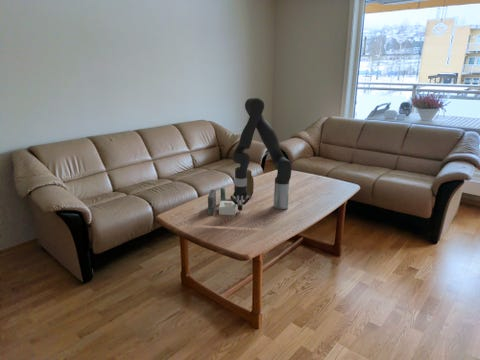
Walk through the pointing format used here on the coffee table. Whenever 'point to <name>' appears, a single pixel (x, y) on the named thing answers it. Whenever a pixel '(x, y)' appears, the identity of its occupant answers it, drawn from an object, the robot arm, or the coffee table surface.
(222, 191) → the dowel
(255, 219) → the coffee table surface
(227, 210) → the socket
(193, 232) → the coffee table surface
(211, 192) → the jig
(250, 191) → the brown rounded block
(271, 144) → the robot arm
